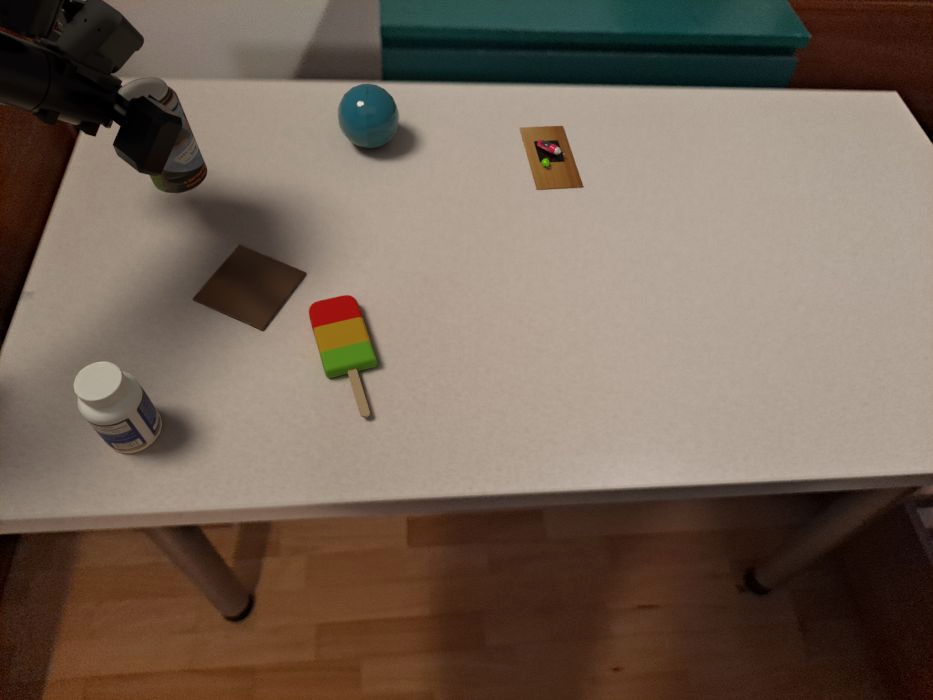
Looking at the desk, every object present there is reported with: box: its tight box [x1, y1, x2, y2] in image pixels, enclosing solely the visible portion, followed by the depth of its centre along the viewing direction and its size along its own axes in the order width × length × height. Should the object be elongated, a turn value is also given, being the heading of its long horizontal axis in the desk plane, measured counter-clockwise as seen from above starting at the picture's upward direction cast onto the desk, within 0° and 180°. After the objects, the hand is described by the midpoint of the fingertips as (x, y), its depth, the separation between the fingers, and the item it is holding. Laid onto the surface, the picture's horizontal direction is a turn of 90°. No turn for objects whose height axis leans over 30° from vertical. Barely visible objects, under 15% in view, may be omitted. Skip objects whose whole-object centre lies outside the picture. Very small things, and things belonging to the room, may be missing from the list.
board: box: [519, 125, 584, 191], centre depth 93 cm, size 6×12×2 cm, turn 9°
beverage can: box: [118, 76, 208, 195], centre depth 73 cm, size 6×7×12 cm
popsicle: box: [308, 294, 378, 418], centre depth 73 cm, size 6×15×2 cm, turn 19°
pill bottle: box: [73, 361, 163, 454], centre depth 63 cm, size 5×5×10 cm
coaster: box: [192, 244, 307, 332], centre depth 78 cm, size 9×9×1 cm
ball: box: [337, 83, 400, 149], centre depth 89 cm, size 8×8×8 cm
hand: (169, 123), depth 74 cm, fingers closed on beverage can, 6 cm apart
